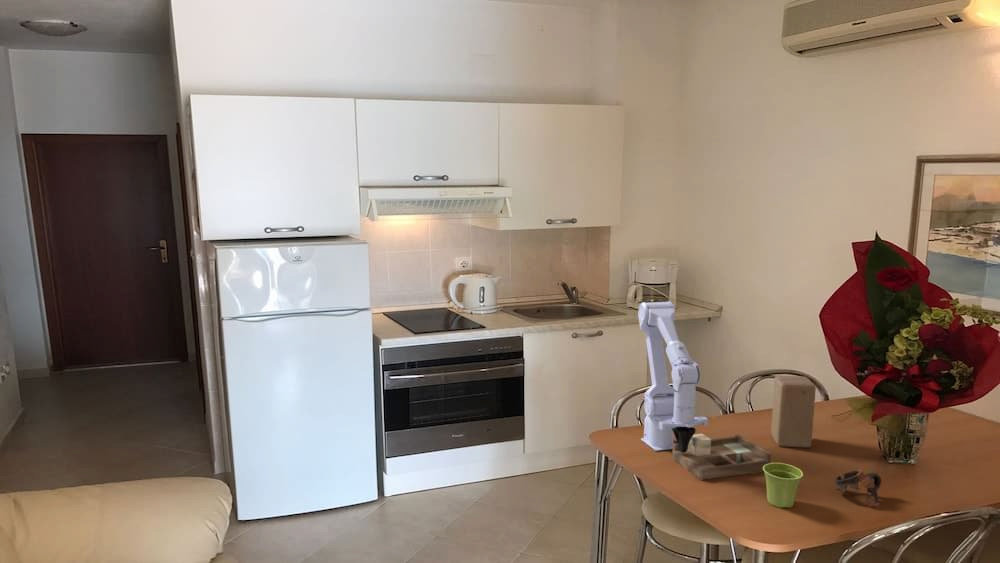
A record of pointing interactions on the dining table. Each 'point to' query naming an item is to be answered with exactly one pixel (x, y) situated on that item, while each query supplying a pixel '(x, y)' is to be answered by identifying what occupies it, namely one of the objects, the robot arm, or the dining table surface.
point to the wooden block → (793, 411)
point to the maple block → (700, 445)
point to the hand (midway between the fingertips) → (682, 451)
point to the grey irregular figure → (866, 480)
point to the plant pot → (781, 483)
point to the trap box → (724, 458)
